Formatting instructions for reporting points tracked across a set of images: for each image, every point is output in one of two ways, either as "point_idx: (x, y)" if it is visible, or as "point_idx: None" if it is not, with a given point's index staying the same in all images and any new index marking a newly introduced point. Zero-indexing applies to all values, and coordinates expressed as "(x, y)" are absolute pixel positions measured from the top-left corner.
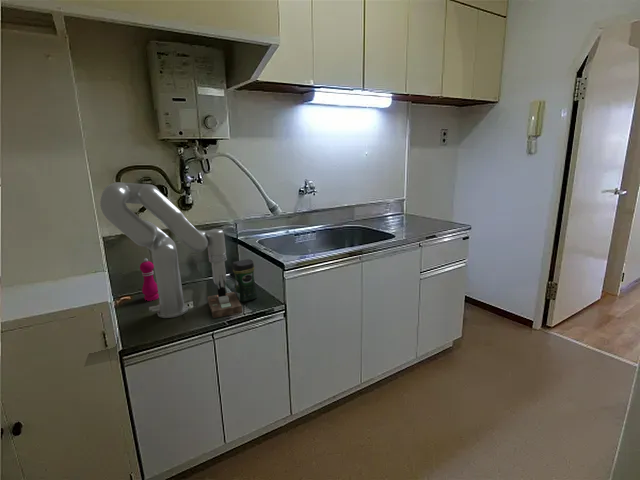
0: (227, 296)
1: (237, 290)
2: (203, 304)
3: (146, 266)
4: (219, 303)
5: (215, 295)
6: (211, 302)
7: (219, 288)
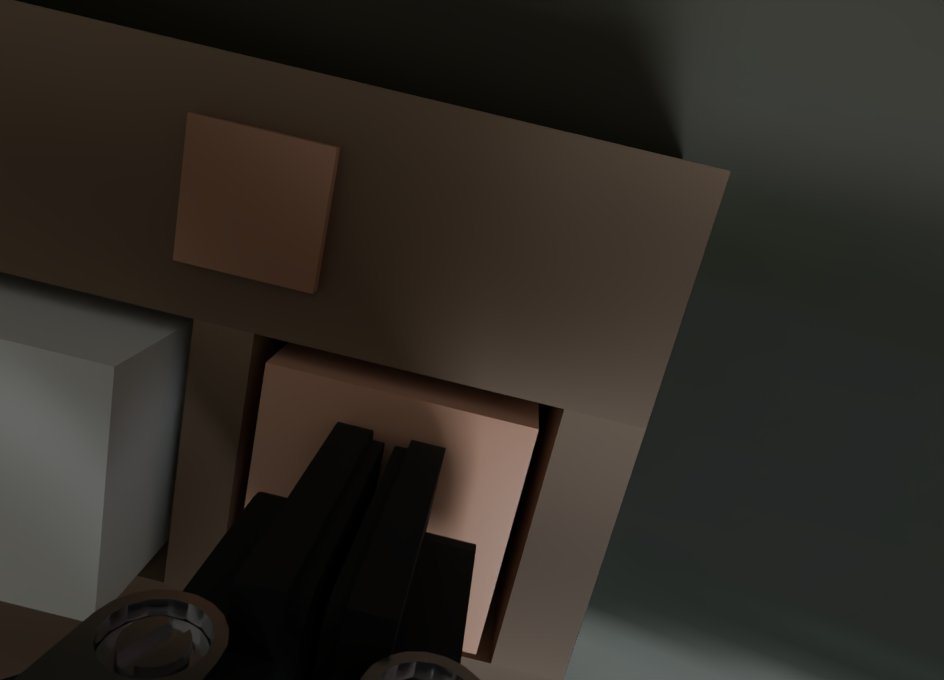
0: (8, 592)
1: None
2: (666, 8)
3: None
4: (57, 288)
5: (618, 409)
6: (119, 91)
7: (85, 651)
